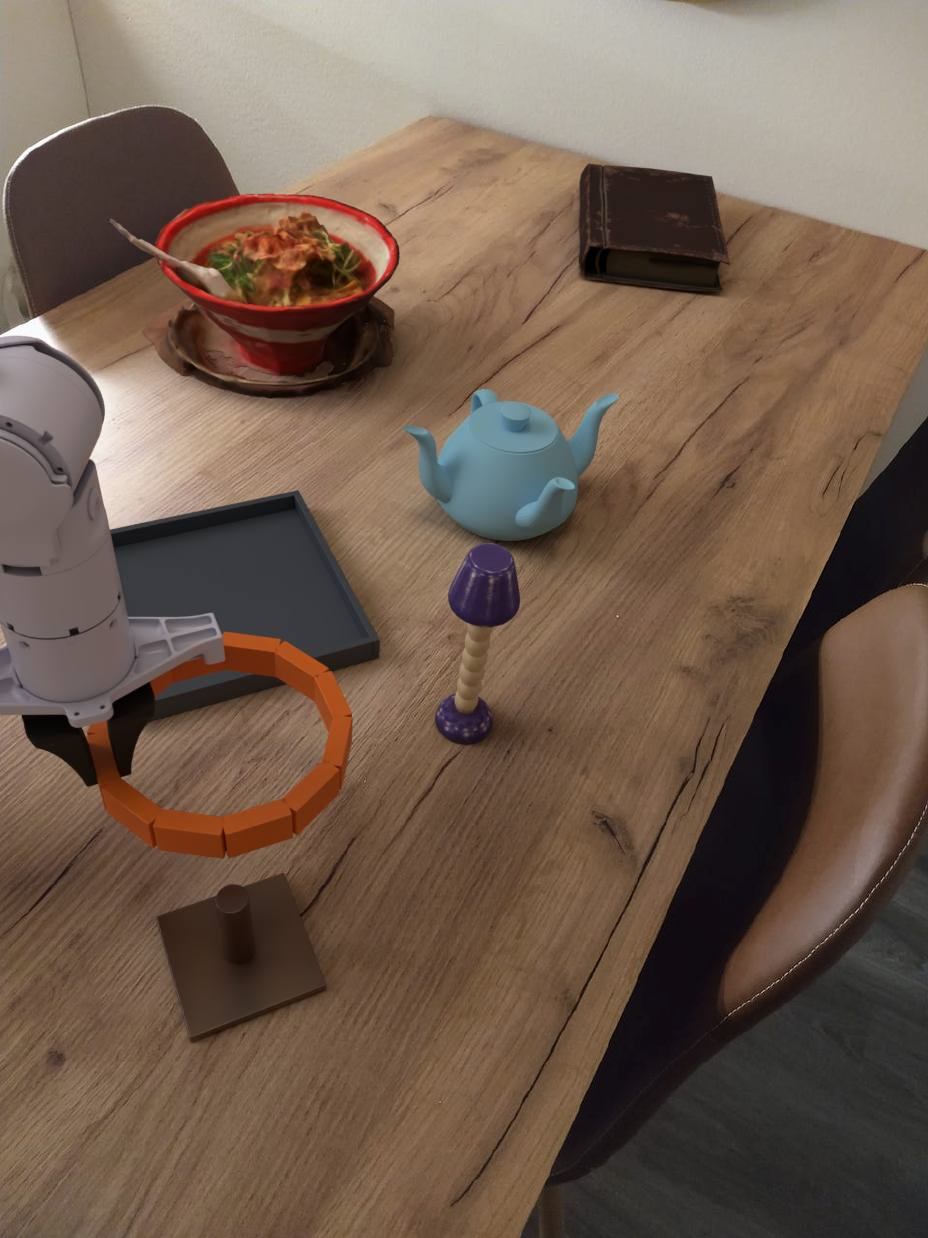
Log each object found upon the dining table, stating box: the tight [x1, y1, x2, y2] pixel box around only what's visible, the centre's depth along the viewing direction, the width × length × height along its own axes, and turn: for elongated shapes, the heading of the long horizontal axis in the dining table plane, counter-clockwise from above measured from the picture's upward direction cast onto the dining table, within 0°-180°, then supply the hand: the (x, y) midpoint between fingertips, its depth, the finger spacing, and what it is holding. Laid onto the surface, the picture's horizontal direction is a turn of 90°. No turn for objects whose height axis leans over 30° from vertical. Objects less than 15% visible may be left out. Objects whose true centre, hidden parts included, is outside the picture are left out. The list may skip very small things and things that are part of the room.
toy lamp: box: [434, 542, 521, 745], centre depth 69 cm, size 5×5×17 cm
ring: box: [86, 632, 354, 860], centre depth 61 cm, size 15×15×2 cm
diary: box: [578, 163, 731, 293], centre depth 132 cm, size 19×25×5 cm
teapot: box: [402, 388, 620, 542], centre depth 90 cm, size 15×15×10 cm
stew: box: [107, 193, 401, 399], centre depth 102 cm, size 28×24×16 cm
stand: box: [155, 872, 327, 1043], centre depth 59 cm, size 8×8×7 cm
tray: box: [110, 489, 381, 722], centre depth 80 cm, size 19×19×2 cm
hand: (105, 767), depth 58 cm, fingers closed on ring, 1 cm apart
